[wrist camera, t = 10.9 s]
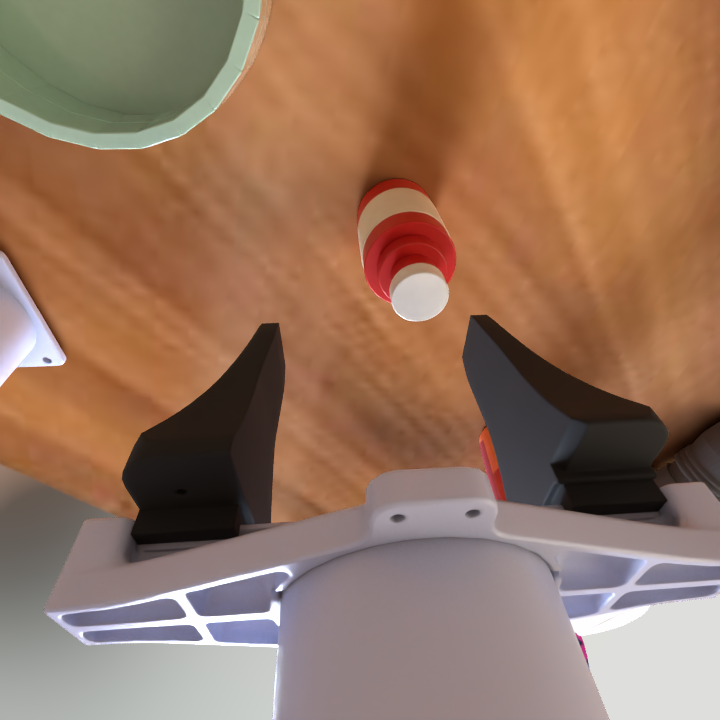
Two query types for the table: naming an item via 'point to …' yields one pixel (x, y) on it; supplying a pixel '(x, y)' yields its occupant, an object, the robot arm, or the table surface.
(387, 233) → the sauce bottle
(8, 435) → the table surface
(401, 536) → the robot arm
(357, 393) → the table surface
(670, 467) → the flashlight
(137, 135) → the pan
